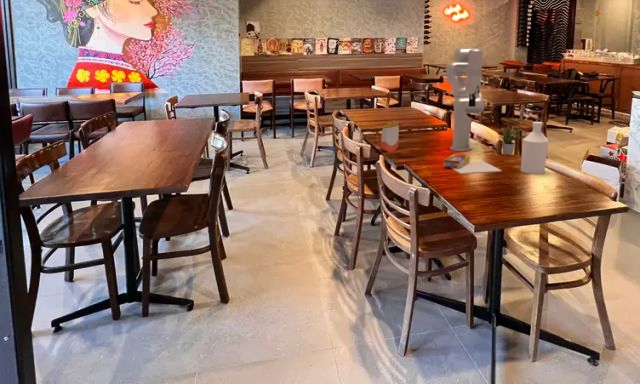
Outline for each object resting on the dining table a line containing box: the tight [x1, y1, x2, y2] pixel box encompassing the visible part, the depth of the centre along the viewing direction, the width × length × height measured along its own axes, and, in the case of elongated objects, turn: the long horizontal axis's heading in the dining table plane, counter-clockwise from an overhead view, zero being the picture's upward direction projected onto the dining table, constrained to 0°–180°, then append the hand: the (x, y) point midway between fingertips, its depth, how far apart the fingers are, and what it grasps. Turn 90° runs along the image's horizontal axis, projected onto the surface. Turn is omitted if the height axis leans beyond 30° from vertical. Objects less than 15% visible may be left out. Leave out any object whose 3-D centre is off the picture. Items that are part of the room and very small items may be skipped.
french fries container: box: [380, 121, 400, 153], centre depth 310 cm, size 5×11×18 cm, turn 130°
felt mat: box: [449, 160, 502, 175], centre depth 270 cm, size 20×22×1 cm
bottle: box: [520, 121, 549, 175], centre depth 259 cm, size 12×12×25 cm
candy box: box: [443, 153, 470, 169], centre depth 274 cm, size 9×4×15 cm
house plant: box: [499, 126, 522, 155], centre depth 296 cm, size 14×14×16 cm
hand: (471, 106), depth 284 cm, fingers closed
